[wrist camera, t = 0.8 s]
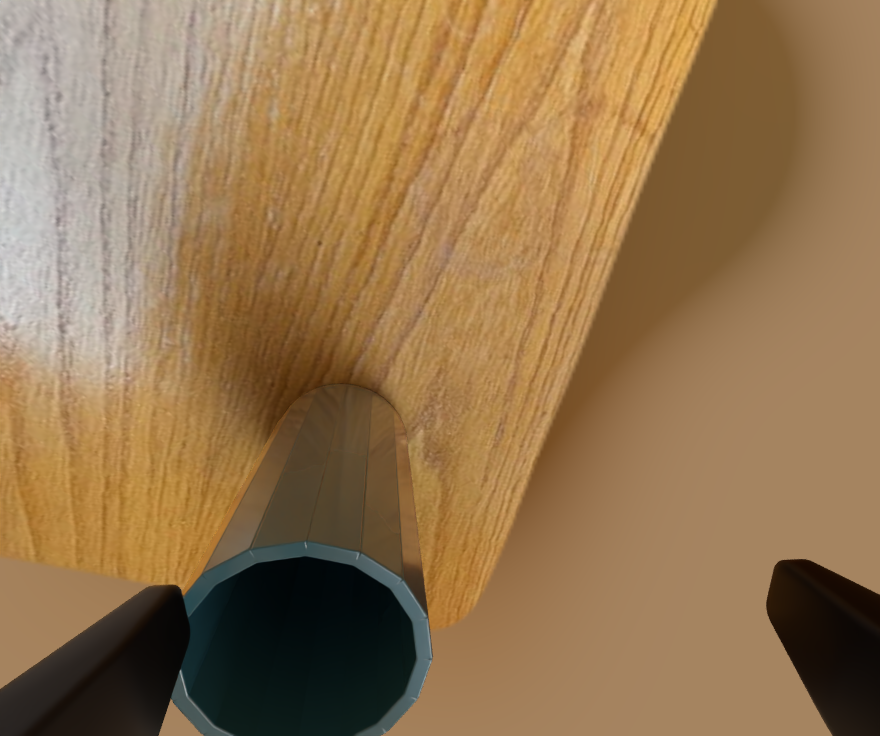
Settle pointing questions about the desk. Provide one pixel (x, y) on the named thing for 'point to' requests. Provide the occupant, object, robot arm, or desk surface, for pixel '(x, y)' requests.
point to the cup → (312, 582)
